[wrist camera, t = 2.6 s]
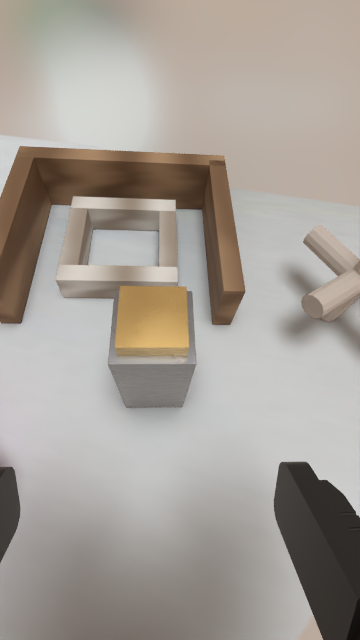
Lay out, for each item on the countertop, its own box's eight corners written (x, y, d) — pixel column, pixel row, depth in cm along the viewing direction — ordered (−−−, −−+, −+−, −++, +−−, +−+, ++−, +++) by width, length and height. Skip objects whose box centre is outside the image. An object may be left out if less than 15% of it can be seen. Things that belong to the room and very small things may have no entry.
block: (126, 407, 21) (104, 356, 13) (129, 355, 23) (112, 279, 14) (182, 407, 22) (198, 355, 13) (180, 355, 24) (194, 280, 15)
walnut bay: (1, 323, 24) (-34, 287, 19) (39, 193, 31) (19, 146, 27) (230, 324, 25) (245, 291, 21) (215, 199, 32) (224, 155, 28)
